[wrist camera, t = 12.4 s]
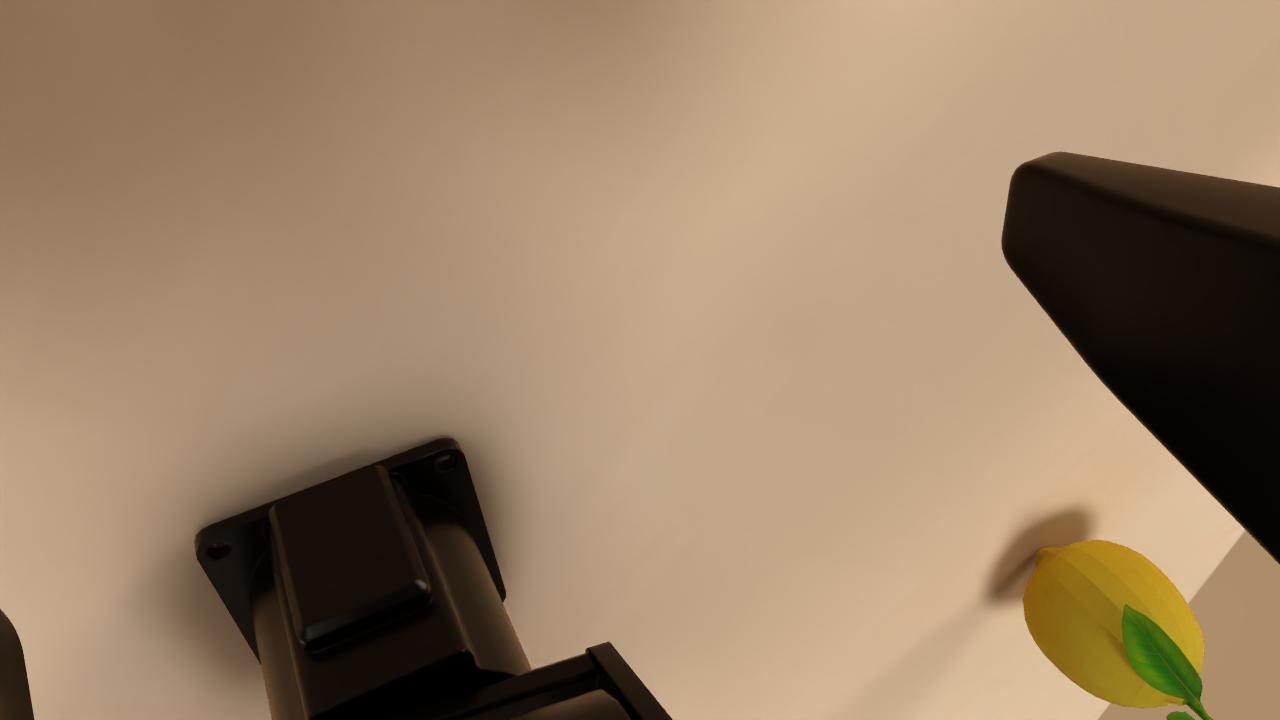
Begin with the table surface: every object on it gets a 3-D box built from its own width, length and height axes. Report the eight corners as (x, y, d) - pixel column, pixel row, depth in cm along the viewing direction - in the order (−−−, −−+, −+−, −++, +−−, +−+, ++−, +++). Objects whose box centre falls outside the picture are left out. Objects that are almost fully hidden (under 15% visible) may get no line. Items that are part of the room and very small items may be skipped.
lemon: (1064, 591, 46) (1253, 781, 39) (964, 624, 43) (1146, 833, 36) (1122, 479, 42) (1344, 666, 35) (1016, 508, 40) (1231, 716, 32)
